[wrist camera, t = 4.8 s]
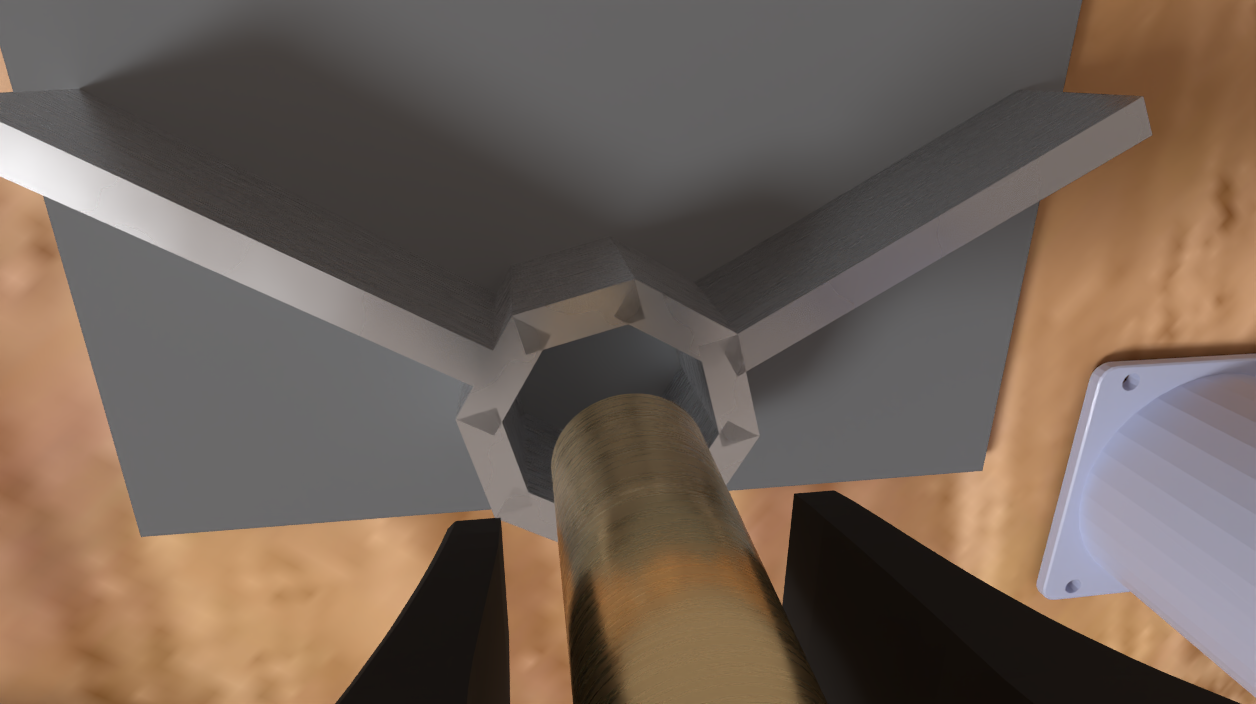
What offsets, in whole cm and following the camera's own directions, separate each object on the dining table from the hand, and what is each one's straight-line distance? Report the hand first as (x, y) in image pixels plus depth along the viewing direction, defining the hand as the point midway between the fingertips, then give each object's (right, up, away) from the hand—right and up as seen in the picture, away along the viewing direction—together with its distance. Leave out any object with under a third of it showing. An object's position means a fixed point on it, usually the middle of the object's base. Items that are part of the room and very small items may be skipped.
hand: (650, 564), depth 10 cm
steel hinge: (-2, +7, +5) cm, 9 cm away
